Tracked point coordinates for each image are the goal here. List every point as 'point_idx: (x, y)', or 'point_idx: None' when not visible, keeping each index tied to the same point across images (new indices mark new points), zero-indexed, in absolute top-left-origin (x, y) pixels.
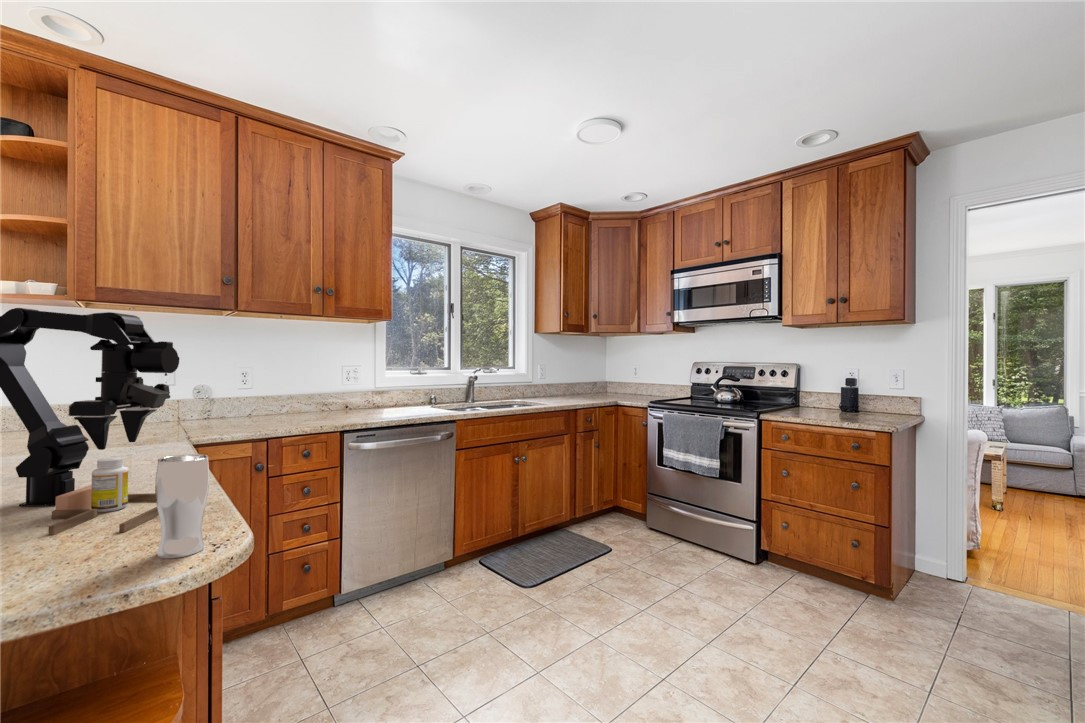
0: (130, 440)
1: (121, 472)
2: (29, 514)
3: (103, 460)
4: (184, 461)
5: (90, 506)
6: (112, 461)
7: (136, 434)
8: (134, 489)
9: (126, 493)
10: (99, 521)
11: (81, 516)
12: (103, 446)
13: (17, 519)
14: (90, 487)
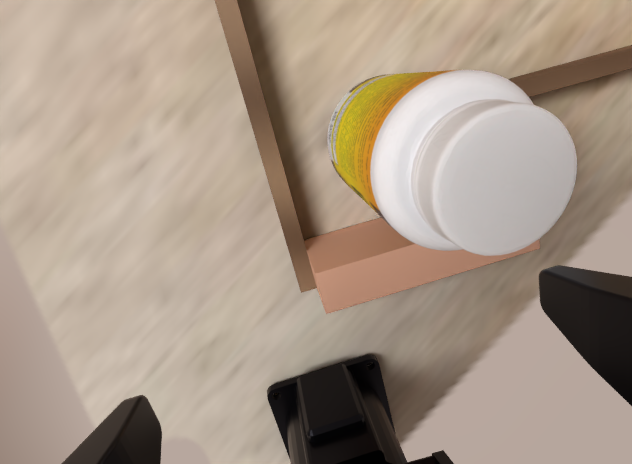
0: (152, 433)
1: (479, 70)
2: (455, 332)
3: (572, 171)
4: None
5: (382, 220)
6: (553, 118)
7: (104, 449)
8: (99, 317)
9: (382, 79)
10: (531, 18)
11: (572, 65)
12: (586, 271)
13: (503, 311)
14: (391, 266)
